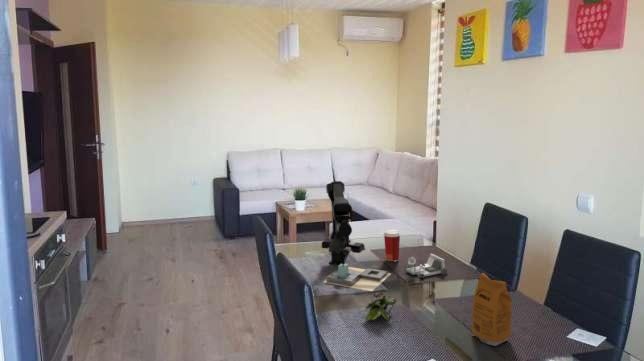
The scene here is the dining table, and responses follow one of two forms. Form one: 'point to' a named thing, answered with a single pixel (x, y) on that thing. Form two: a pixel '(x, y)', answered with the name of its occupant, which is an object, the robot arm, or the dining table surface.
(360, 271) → the patch board
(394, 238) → the coffee cup
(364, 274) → the gray square frame
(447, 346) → the dining table surface
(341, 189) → the robot arm
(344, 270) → the plug
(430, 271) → the toy car
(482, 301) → the coffee package
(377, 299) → the green leafy plant
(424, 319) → the dining table surface
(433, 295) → the dining table surface
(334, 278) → the port block
